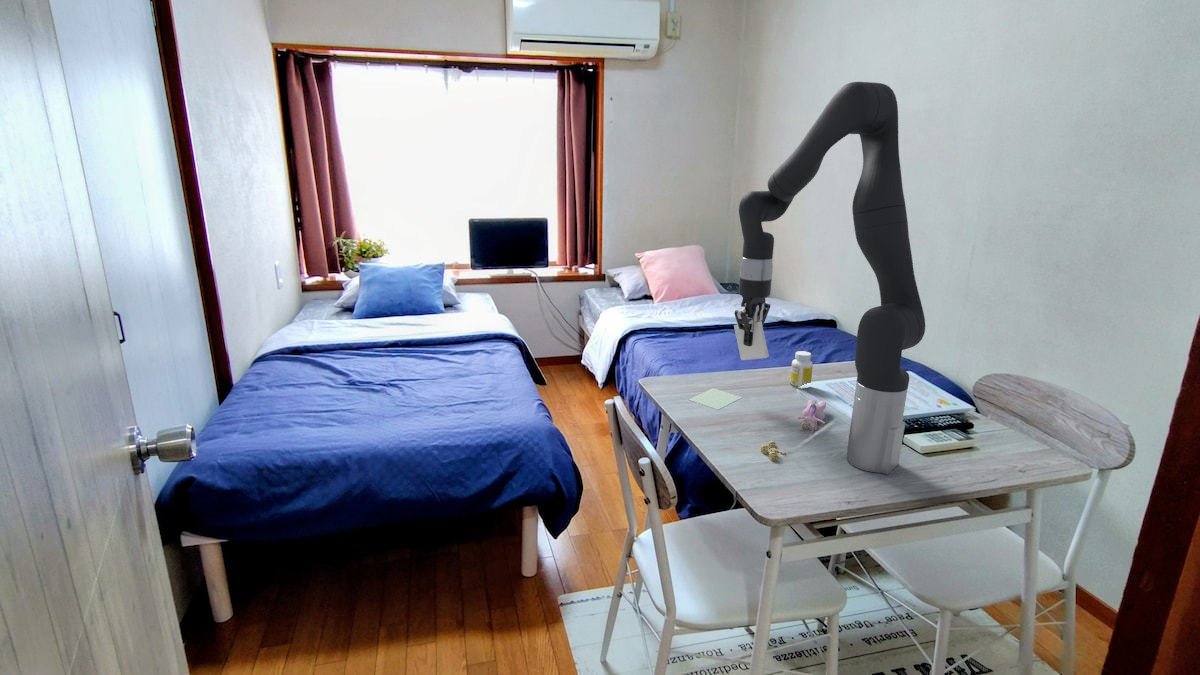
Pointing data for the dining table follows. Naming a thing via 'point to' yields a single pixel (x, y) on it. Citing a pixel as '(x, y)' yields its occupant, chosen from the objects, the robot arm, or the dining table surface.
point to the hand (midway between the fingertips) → (749, 344)
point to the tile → (758, 343)
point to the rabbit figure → (812, 415)
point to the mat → (715, 398)
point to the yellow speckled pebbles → (773, 451)
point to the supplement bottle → (801, 369)
